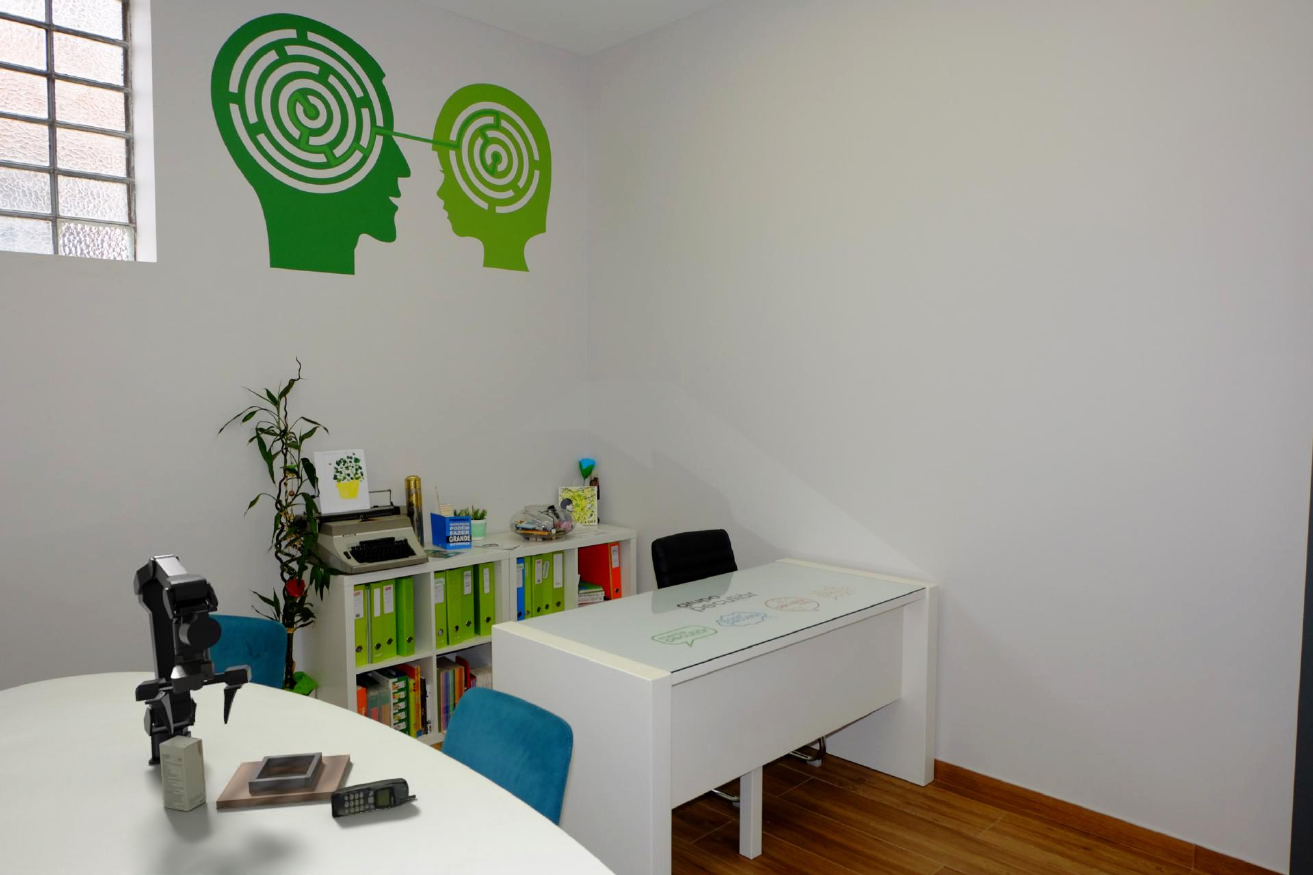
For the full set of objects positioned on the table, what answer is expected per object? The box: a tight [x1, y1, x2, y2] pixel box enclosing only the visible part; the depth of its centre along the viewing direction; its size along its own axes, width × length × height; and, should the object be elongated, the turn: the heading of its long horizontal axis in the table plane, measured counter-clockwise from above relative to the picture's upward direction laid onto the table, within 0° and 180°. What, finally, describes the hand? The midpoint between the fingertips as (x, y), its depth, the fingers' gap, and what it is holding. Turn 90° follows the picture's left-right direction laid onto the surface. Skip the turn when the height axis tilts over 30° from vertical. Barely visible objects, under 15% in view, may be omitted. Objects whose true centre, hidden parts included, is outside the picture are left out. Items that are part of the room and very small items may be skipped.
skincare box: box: [159, 735, 207, 812], centre depth 160 cm, size 6×4×12 cm
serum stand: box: [215, 751, 351, 810], centre depth 169 cm, size 21×16×4 cm
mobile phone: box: [330, 777, 417, 818], centre depth 160 cm, size 5×3×15 cm
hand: (198, 728), depth 161 cm, fingers open, 9 cm apart
